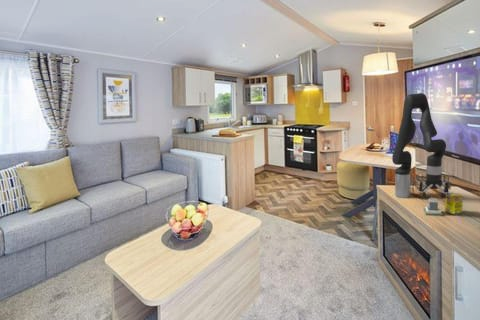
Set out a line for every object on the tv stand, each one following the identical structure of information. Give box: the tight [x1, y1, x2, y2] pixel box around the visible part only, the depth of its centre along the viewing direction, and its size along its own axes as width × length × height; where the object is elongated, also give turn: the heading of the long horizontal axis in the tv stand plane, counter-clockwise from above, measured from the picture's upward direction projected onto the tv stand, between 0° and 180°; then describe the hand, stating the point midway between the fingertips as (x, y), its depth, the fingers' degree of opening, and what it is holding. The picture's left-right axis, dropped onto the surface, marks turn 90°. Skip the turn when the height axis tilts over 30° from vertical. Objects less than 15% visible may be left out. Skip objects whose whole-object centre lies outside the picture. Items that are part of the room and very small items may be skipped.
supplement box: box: [444, 193, 464, 216], centre depth 160 cm, size 6×6×11 cm
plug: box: [427, 198, 439, 211], centre depth 163 cm, size 4×4×7 cm
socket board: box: [423, 206, 444, 217], centre depth 164 cm, size 8×8×2 cm
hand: (432, 198), depth 162 cm, fingers open, 8 cm apart
